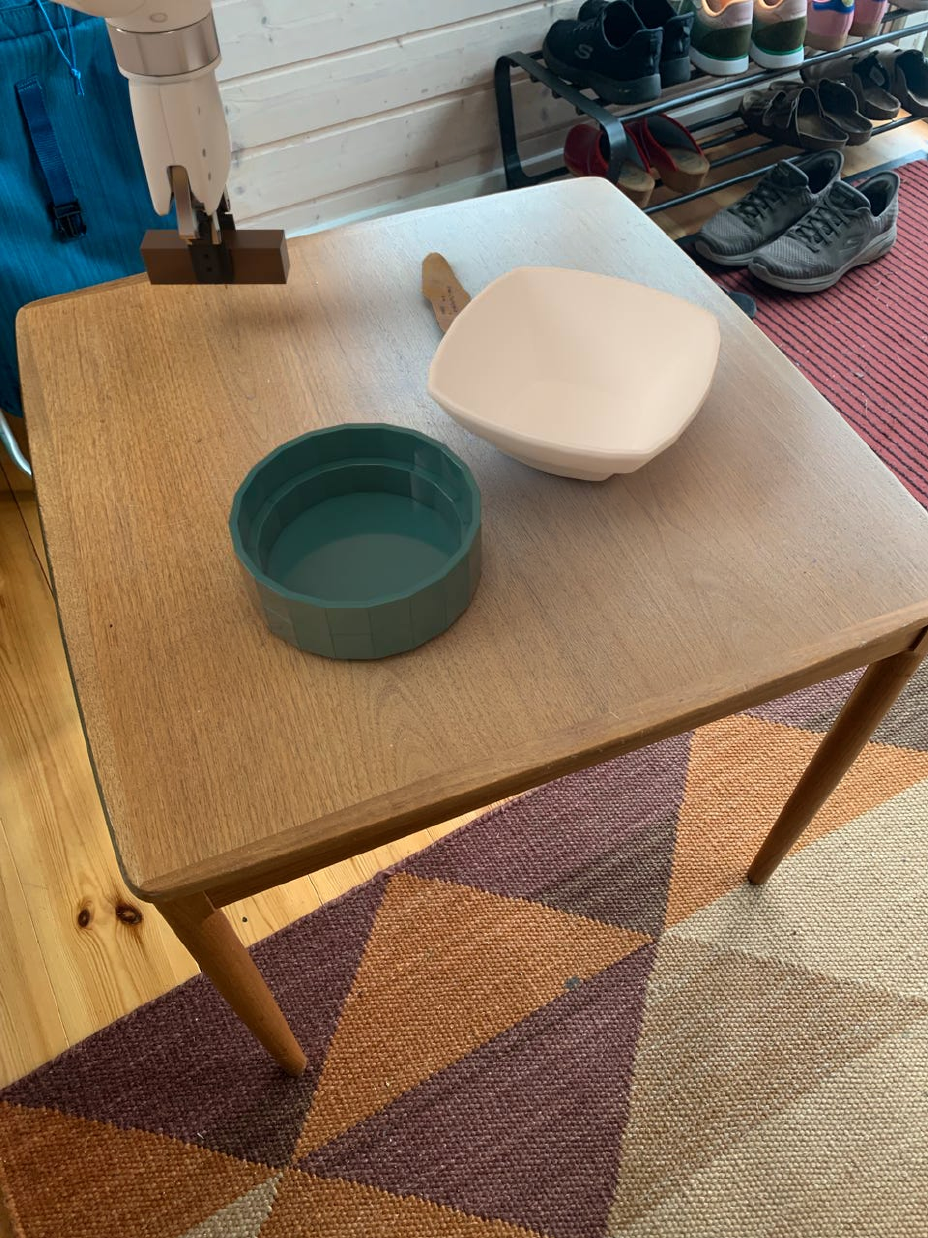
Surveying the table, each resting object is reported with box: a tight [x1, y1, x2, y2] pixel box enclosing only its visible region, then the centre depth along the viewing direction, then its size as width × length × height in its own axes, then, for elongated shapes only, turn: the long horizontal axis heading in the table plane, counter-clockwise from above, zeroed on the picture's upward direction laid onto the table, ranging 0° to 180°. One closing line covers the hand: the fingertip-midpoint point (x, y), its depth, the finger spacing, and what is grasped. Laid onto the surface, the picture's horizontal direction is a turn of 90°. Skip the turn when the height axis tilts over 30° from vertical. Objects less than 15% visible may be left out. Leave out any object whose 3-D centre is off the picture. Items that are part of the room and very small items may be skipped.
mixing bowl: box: [228, 422, 482, 660], centre depth 66 cm, size 17×17×6 cm
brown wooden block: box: [139, 229, 291, 286], centre depth 81 cm, size 12×3×4 cm, turn 90°
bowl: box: [426, 265, 723, 482], centre depth 73 cm, size 21×21×9 cm
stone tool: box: [421, 252, 472, 334], centre depth 87 cm, size 5×2×15 cm
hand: (219, 267), depth 82 cm, fingers closed on brown wooden block, 3 cm apart
